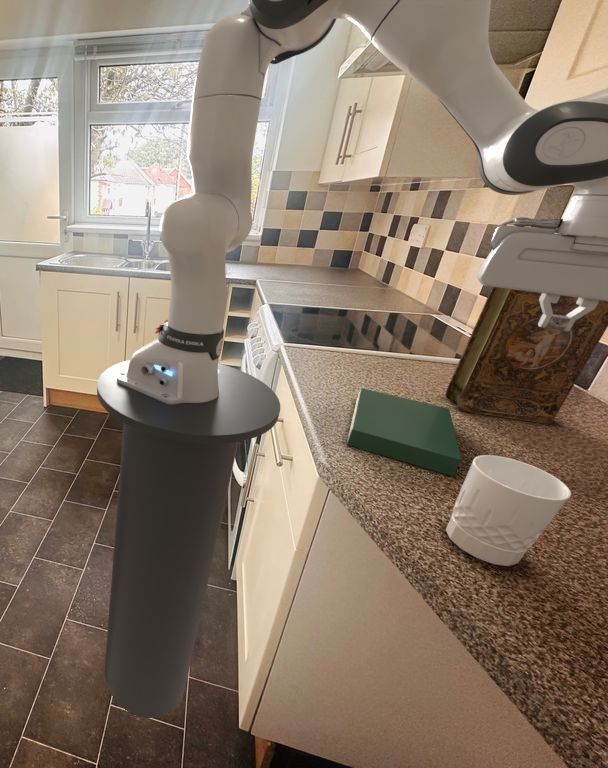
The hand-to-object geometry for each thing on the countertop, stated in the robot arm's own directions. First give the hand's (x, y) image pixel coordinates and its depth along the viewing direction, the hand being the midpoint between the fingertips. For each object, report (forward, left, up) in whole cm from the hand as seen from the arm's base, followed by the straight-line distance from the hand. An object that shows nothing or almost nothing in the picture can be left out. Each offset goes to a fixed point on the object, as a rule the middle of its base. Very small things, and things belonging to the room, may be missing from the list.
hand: (552, 328), depth 58 cm
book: (+4, +23, -22) cm, 32 cm away
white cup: (-4, -25, -22) cm, 33 cm away
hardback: (-12, 0, -21) cm, 25 cm away
